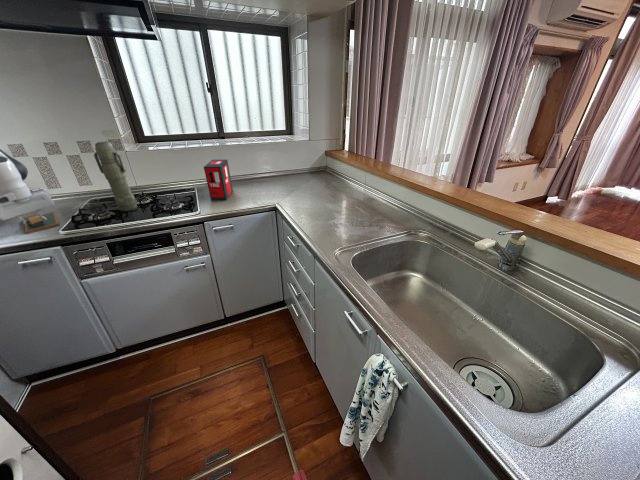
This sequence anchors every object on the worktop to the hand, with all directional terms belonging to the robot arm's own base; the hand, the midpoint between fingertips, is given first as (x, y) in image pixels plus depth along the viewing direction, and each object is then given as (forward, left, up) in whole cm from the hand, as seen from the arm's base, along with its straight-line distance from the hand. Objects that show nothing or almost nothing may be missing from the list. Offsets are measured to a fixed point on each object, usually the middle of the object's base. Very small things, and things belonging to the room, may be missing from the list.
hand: (33, 220), depth 128 cm
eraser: (0, 0, -2) cm, 2 cm away
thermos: (+18, +33, -3) cm, 38 cm away
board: (-3, +3, -3) cm, 5 cm away
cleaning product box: (+52, +70, -3) cm, 88 cm away
